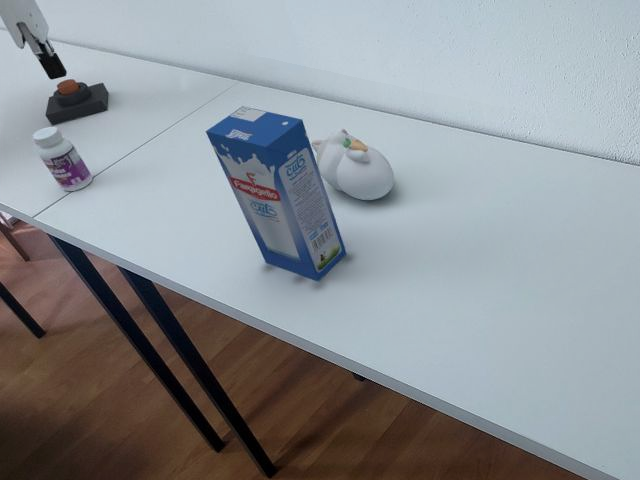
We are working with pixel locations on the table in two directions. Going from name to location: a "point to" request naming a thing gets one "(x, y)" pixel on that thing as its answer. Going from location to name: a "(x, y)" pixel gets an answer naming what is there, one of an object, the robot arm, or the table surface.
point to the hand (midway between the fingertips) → (58, 76)
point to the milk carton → (279, 190)
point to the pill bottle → (62, 159)
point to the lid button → (68, 86)
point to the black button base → (77, 103)
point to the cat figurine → (353, 166)
